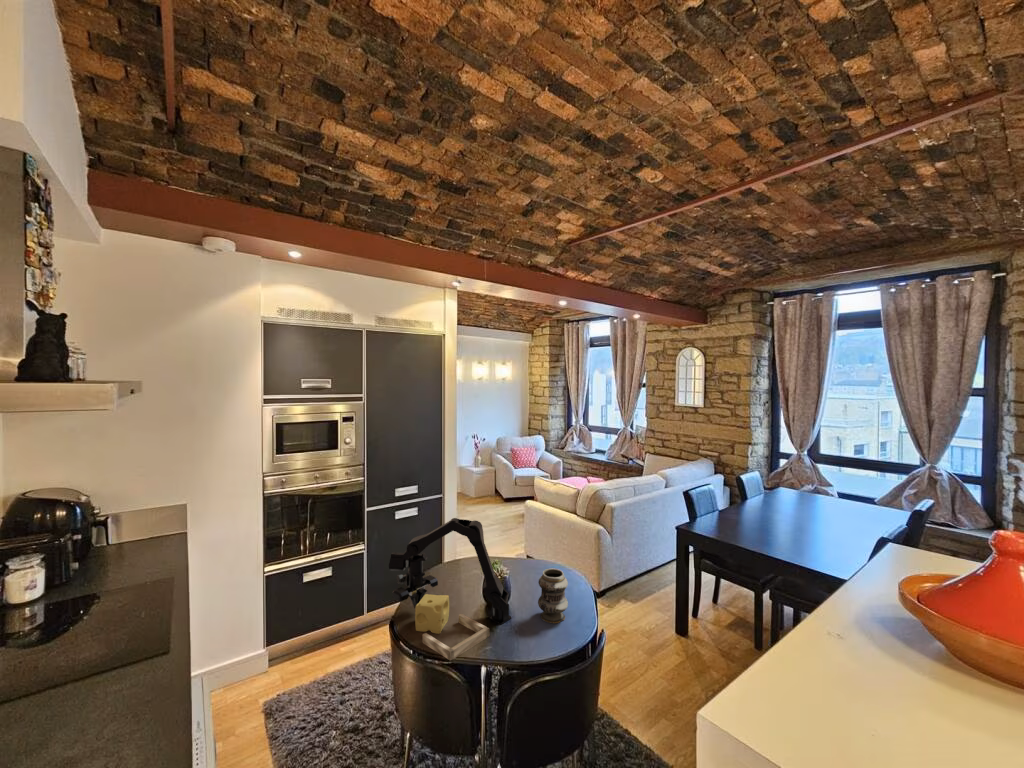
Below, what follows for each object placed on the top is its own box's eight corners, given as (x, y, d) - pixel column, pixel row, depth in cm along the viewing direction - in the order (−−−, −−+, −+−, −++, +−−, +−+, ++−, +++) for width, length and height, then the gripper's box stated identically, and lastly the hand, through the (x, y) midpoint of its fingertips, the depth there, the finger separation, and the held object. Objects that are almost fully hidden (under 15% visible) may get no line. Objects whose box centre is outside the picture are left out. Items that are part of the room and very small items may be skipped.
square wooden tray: (489, 636, 163) (489, 628, 163) (450, 660, 148) (450, 652, 148) (461, 621, 173) (461, 613, 173) (422, 642, 159) (422, 634, 159)
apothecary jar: (555, 628, 167) (555, 582, 167) (531, 617, 176) (531, 572, 175) (573, 616, 176) (573, 571, 176) (550, 605, 184) (550, 563, 184)
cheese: (440, 634, 164) (440, 608, 164) (413, 631, 166) (413, 605, 166) (449, 619, 174) (449, 594, 174) (424, 616, 176) (424, 592, 176)
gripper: (422, 557, 189) (422, 593, 189) (384, 572, 175) (384, 610, 175) (438, 565, 182) (438, 602, 182) (400, 580, 168) (400, 620, 168)
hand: (416, 608), depth 177 cm, fingers closed
